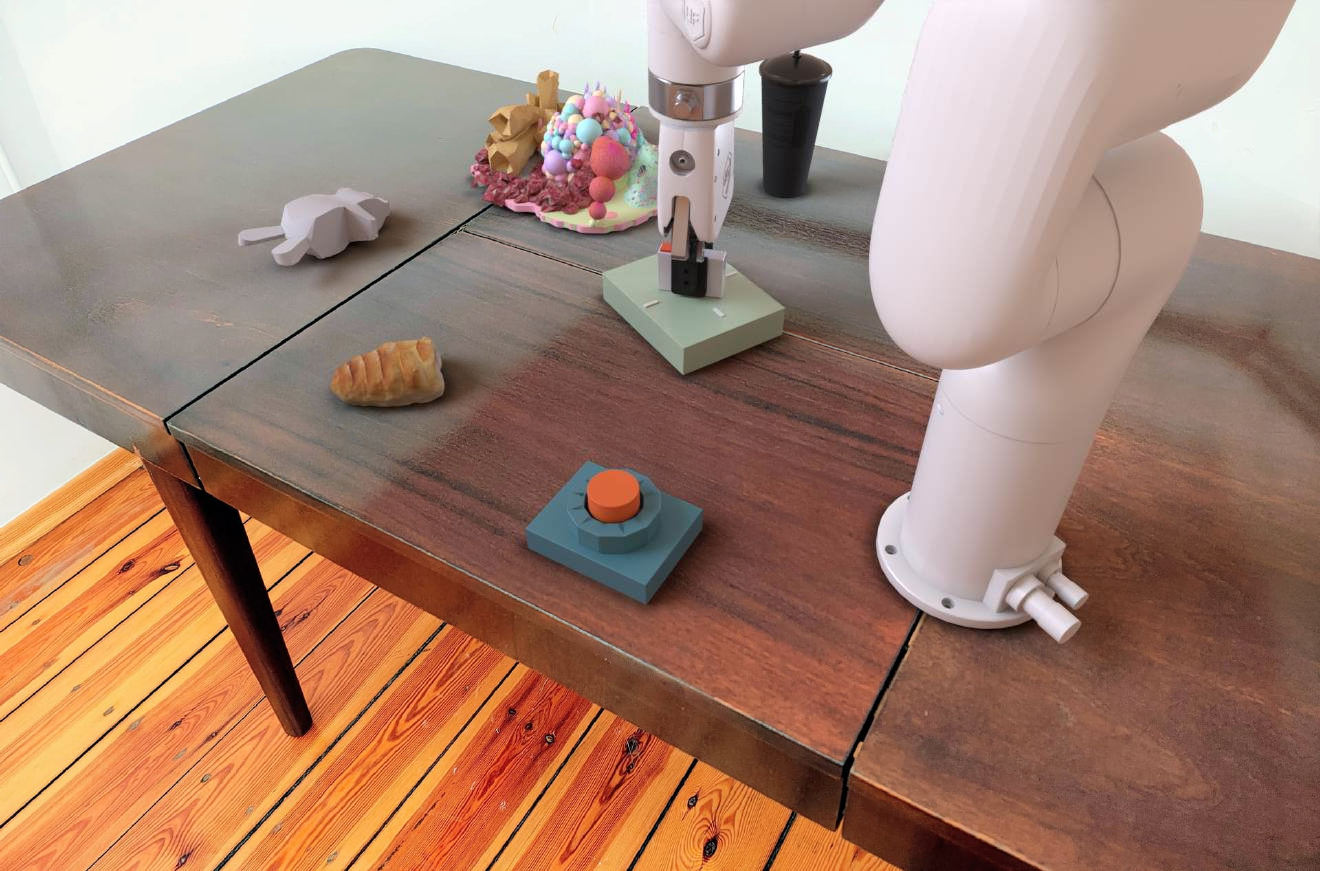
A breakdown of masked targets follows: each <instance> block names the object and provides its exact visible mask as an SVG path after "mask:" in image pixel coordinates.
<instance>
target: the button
mask: <svg viewBox="0 0 1320 871" xmlns="http://www.w3.org/2000/svg"><path fill="white" fill-rule="evenodd" d="M587 494H588V506H589V510H590V512H591V514H592V515H593V516H594V517H595V518H596V519H597V520H599V521H602V522H605V523H610V524H617V523H622V522H625V521H627V520H629V519H631V518H632V517H634V516H635V514H636V513H637V512H638V510H639V507H640V492H639V483H638V481H637V480H636V478H635V477H634V476H633V475H631V474H630V473H628V472H625V471H622V470H607V471H603V472H601V473H599V474H597V475H595V476H594V477H593V478H592V479H591V480H590V482H589V484H588V487H587Z"/></svg>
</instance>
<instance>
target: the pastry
mask: <svg viewBox="0 0 1320 871" xmlns="http://www.w3.org/2000/svg"><path fill="white" fill-rule="evenodd" d="M442 365H443V362H442V359H441V355H440V353H439V351H438V350H437V347H436V345H435V343H434V341H433V339H432V338H430V337H429V336H423V337H422V338H421V339H410V340H398V341H388V342H385V343H382V345H381V346H379V347H377V348H376V349H373V350H372V351H369V352H368V353H365V354H360V355H357V356H355V357H354V358H353V359H351V360H348V361H346V362H345V363H344V364H342V365H340V366H338V368H336V370H335V372H334V373H333V376H332V380H331V384H330V390H331V392H332V393H333V394H334V395H335V397H337V399H339V400H340V401H341V402H343V403H345V404H349V405H353V406H354V407H355V406H361V407H364V408H365V407H368V406H372V407H378V408H389V407H402V406H410V405H411V404H415V403H418V404H424V403H425V404H426V403H429V402H432V401H434V400H436V399H438V398H439V397H441V396H443V395H444V391H445V381H444V377H443V376H444V375H443V373H442V372H441V368H442Z"/></svg>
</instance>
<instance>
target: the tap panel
mask: <svg viewBox="0 0 1320 871" xmlns="http://www.w3.org/2000/svg"><path fill="white" fill-rule="evenodd" d="M601 280H602V297H603V298H602V299H603V300H604V301H605V302H606V303H607V304H608V305H609V306H610V307H611V308H612V309H613V310H615V311H616V312H617V314H619V315H620V316H621V317H622V318H623V319H624V320H625V321H626V322H627V323H628V324H629V325H630V326H631V327H632V328H633V329H634V330H635V331H636V332H637V333H638V334H639V335H640V336H642V337H643V338H644V339H645V340H646V341H647V342H648V343H649V344H650V345H651V346H652V347H653V348H654V350H656V351H657V352H658V353H659V354H660V355H661V356H662V357H664V359H666V361H667V362H669V364H671V365H672V366H673V367H674V368H675V369H676V370H677V371H679V373H680V374H681V375H683V376H684V375H685V376H686V375H687V374H690V373H692V372H694V371H697V370H699V369H702V368H704V367H707V366H709V365H712V364H714V363H717V362H720V361H721V360H724V359H726V358H729V357H731V356H733V355H736V354H739V353H741V352H744V351H746V350H749V349H750V348H754V347H756V346H758V345H760V344H763V343H765V342H768V341H771V340H773V339H775V338H778V337H779V336H782V335H783V332H784V324H785V314H786V307H785V306H783V305H782V304H781V303H780V302H778V301H777V300H776V299H774V298H773V297H772V296H771V295H769V294H768V293H767V292H766V291H764V290H763V289H762V288H760V286H758V285H757V284H755V283H754V282H753V281H752V280H750V279H749V278H748V277H746V276H745V275H744V274H742V273H741V272H740V271H738V270H737V269H736V268H735V267H733V265H732V264H730V263H729V262H727V261H726V272H725V289H724V292H723V295H722V297H721V298H718V297H711V296H705V297H702V298H701V297H694V296H686V295H678V294H674V293H672V291H666V290H659V289H658V252H657V253H655V254H652V255H648V256H646V257H643V258H640V259H637V260H634V261H632V262H628V263H626V264H623V265H620V266H617V267H613V268H612V269H608V270H606V271H605V270H604V271H603V272H601Z"/></svg>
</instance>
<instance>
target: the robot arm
mask: <svg viewBox="0 0 1320 871" xmlns="http://www.w3.org/2000/svg"><path fill="white" fill-rule="evenodd" d="M886 1H887V0H646V6H647V7H646V8H647V11H646V12H647V90H648V91H647V94H648V95H647V96H648V98H647V99H648V111H649V113H650V114H651V116H652V117H654V118H655V119H656V120H658V121H659V133H658V134H659V137H658V145H657V147H658V149H659V155H658V202H657V204H658V215H657V226H658V232H659V234H660V235H661V236H662V237H663V238H667V237H668V236H669V235H670V234H669V233H670V232H671V237H670V239H671V241H670V243H671V291H672V293H674V294H678V295H686V296H694V297H701V298H702V297H705V295H706V292H707V268H708V257H704V254H705V249H710V250H714V241H715V240H716V239H718V236H719V234H720V231H721V229H722V226H723V224H724V222H725V219H726V216H727V213H728V211H729V208H730V205H731V202H732V198H733V194H734V184H735V182H734V181H735V180H734V179H735V178H734V176H735V175H734V174H735V173H734V172H735V165H734V164H735V119H736V118H739V117H740V116H741V114H742V112H743V109H744V92H745V75H746V74H745V73H746V66H747V65H751V64H754V63H759V62H763V61H764V60H766V59H770V58H774V57H778V56H781V55H783V54H786V53H792V52H794V51H797V50H801V51H802V50H804V49H805V50H806V49H808V48H813V47H816V46H817V47H818V46H820V45H825V44H829V43H832V42H835V41H839V40H842V39H845V38H846V37H849V36H850V35H853V34H854V33H856V32H858V31H859V30H860V29H861V28H862V27H863V26H865V25H866V24H867V23H868V22H869V21H870V20H872V18H874V17H875V15H876V14H877V13H878V11H879V10H880V9H881V7H882V6H883V5H884V4H885V2H886ZM1296 2H1297V0H933V2H932V3H931V6H930V8H929V9H928V12H927V13H926V16H925V19H924V21H923V24H922V26H921V29H920V32H919V35H918V37H917V42H916V45H915V49H914V52H913V56H912V59H911V63H910V67H909V71H908V75H907V79H906V84H905V87H904V91H903V95H902V100H901V105H900V108H899V113H898V117H897V121H896V126H895V128H894V133H893V137H892V140H891V145H890V150H889V154H888V158H887V162H886V167H885V171H884V175H883V178H882V184H881V187H880V191H879V196H878V201H877V205H876V209H875V213H874V218H873V223H872V229H871V234H870V241H869V242H870V243H869V252H868V275H869V285H870V290H871V296H872V299H873V304H874V308H875V310H876V312H877V313H876V314H877V316H878V318H879V319H880V322H881V325H882V327H883V328H884V329H885V331H886V333H887V334H888V336H889V337H890V339H891V340H892V341H893V342H894V343H895V345H897V346H898V348H899V349H901V351H903V352H904V353H905V354H906V355H908V356H909V357H910V358H912V359H913V360H916V361H918V362H920V363H922V364H924V365H927V366H930V367H933V368H937V369H941V373H940V376H939V381H938V384H937V388H936V391H935V396H934V399H933V403H932V408H931V411H930V414H929V419H928V423H927V426H926V431H925V435H924V438H923V443H922V446H921V450H920V454H919V458H918V462H917V465H916V469H915V472H914V477H913V481H912V485H911V489H910V491H908V492H905V493H904V494H902V495H901V496H899V497H897V499H895V500H894V501H893V502H892V503H891V504H890V505H888V506H887V508H886V510H885V511H884V512H883V515H882V517H881V519H880V521H879V524H878V527H877V528H878V529H877V533H876V539H875V547H876V556H877V559H878V562H879V566H880V569H881V570H882V572H883V573H884V575H885V577H886V579H887V580H888V582H889V583H890V584H891V585H892V586H893V587H894V589H895V590H897V592H898V593H899V594H900V595H901V596H902V597H903V598H905V599H906V600H907V601H908V602H909V603H911V604H912V605H913V606H915V607H916V608H918V609H920V610H921V611H923V612H925V613H926V614H928V615H929V616H932V617H934V618H937V619H939V620H942V621H944V622H946V623H949V624H950V623H951V624H953V625H957V626H962V627H965V628H973V629H982V630H984V629H985V630H987V629H988V630H989V629H1004V628H1008V627H1015V626H1019V625H1021V624H1023V623H1026V622H1028V621H1030V620H1032V619H1033V620H1034V621H1036V623H1037V625H1038V626H1039V627H1040V628H1041V629H1042V630H1043V631H1044V632H1045V633H1046V634H1048V635H1049V636H1050V637H1051V638H1053V640H1055V642H1057V643H1058V644H1059V645H1062V644H1065V643H1066V642H1067V641H1069V640H1070V639H1071V638H1072V637H1073V636H1075V634H1076V633H1077V632H1078V631H1079V629H1080V628H1081V626H1082V621H1081V620H1079V618H1077V617H1076V616H1075V615H1074V614H1073V613H1071V611H1069V610H1068V609H1067V608H1066V607H1064V606H1063V605H1062V604H1061V603H1059V602H1057V601H1055V600H1054V597H1055V595H1057V597H1058V598H1059V599H1060V600H1062V601H1063V602H1064V603H1065V604H1066V605H1068V606H1069V607H1070V608H1071V609H1072V610H1073V611H1076V610H1079V609H1080V608H1082V606H1083V605H1084V604H1085V603H1086V602H1087V601H1088V599H1089V597H1090V594H1089V593H1088V592H1086V591H1085V590H1084V589H1083V588H1081V587H1080V586H1079V585H1078V584H1077V583H1076V582H1074V581H1071V580H1070V579H1069V578H1067V577H1066V576H1065V575H1064V574H1063V562H1062V556H1063V555H1064V552H1065V549H1066V547H1067V544H1066V543H1065V542H1064V541H1063V540H1061V539H1060V538H1058V537H1057V536H1056V535H1055V533H1056V531H1057V529H1058V526H1059V524H1060V522H1061V519H1062V516H1063V514H1064V512H1065V509H1066V508H1067V505H1068V503H1069V500H1070V498H1071V496H1072V493H1073V491H1074V489H1075V486H1076V484H1077V482H1078V479H1079V477H1080V475H1081V472H1082V470H1083V468H1084V465H1085V463H1086V461H1087V458H1088V456H1089V454H1090V451H1091V449H1092V447H1093V444H1094V442H1095V439H1096V437H1097V435H1098V432H1099V430H1100V428H1101V426H1102V424H1103V422H1104V420H1105V417H1106V415H1107V413H1108V411H1109V409H1110V406H1111V403H1112V401H1113V400H1114V397H1115V395H1116V393H1117V390H1118V388H1119V386H1120V383H1121V381H1122V379H1123V377H1124V375H1125V373H1126V372H1127V369H1128V368H1129V365H1130V363H1131V361H1132V359H1133V357H1134V356H1135V353H1136V352H1137V350H1138V348H1139V346H1140V344H1141V343H1142V341H1143V339H1145V338H1144V337H1145V336H1146V334H1147V333H1148V331H1149V330H1150V328H1151V326H1152V325H1153V323H1154V322H1155V320H1156V319H1157V318H1158V316H1159V314H1160V312H1161V311H1162V309H1163V308H1164V307H1165V304H1166V303H1167V301H1168V300H1169V298H1170V297H1171V296H1172V293H1173V292H1174V291H1175V290H1176V287H1177V286H1178V284H1179V283H1180V280H1181V279H1182V277H1183V275H1184V274H1185V271H1186V270H1187V268H1188V267H1189V264H1190V261H1191V259H1192V257H1193V254H1194V252H1195V249H1196V247H1197V244H1198V241H1199V238H1200V234H1201V230H1202V224H1203V218H1204V193H1203V186H1202V182H1201V178H1200V175H1199V172H1198V169H1197V167H1196V166H1195V163H1194V161H1193V160H1192V158H1191V157H1190V155H1189V153H1188V152H1187V151H1186V150H1185V149H1184V147H1183V146H1182V145H1181V144H1180V143H1179V142H1178V141H1177V140H1175V138H1173V137H1172V136H1171V135H1169V134H1168V133H1166V132H1164V131H1162V130H1164V129H1167V128H1169V127H1172V126H1175V125H1177V124H1180V123H1183V122H1184V121H1187V120H1190V119H1192V118H1194V117H1196V116H1198V115H1200V114H1202V113H1205V112H1207V111H1208V110H1210V109H1213V108H1214V107H1215V106H1217V105H1219V104H1221V103H1222V102H1224V101H1226V100H1227V99H1229V98H1231V97H1232V96H1233V95H1235V94H1236V93H1237V92H1239V90H1241V89H1242V88H1243V87H1244V86H1245V85H1246V84H1247V83H1248V82H1249V81H1250V80H1251V78H1252V77H1253V76H1254V74H1256V72H1257V71H1258V70H1259V68H1260V67H1261V65H1262V64H1263V63H1264V61H1265V60H1266V59H1267V57H1268V55H1269V54H1270V52H1271V50H1272V48H1273V47H1274V45H1275V43H1276V41H1277V39H1278V37H1279V36H1280V34H1281V32H1282V29H1283V28H1284V26H1285V23H1286V22H1287V20H1288V18H1289V16H1290V14H1291V12H1292V10H1293V7H1294V6H1295V4H1296Z"/></svg>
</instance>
